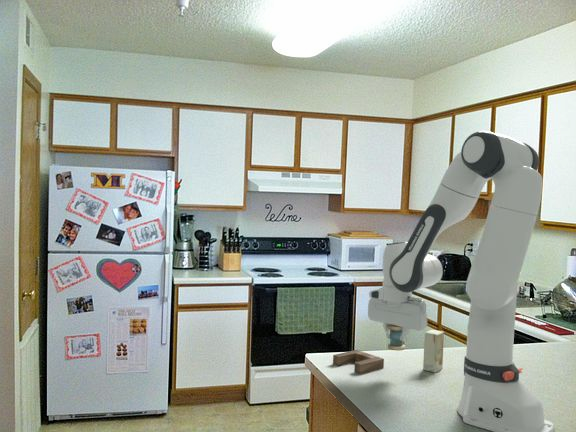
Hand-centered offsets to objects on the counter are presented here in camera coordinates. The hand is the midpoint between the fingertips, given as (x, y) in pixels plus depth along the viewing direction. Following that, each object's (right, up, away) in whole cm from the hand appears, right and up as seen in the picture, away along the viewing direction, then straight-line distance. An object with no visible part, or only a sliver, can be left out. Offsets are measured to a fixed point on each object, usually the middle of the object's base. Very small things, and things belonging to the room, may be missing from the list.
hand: (396, 339), depth 162 cm
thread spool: (0, -3, 0) cm, 3 cm away
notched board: (-10, -11, +10) cm, 18 cm away
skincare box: (+14, -12, +9) cm, 20 cm away
